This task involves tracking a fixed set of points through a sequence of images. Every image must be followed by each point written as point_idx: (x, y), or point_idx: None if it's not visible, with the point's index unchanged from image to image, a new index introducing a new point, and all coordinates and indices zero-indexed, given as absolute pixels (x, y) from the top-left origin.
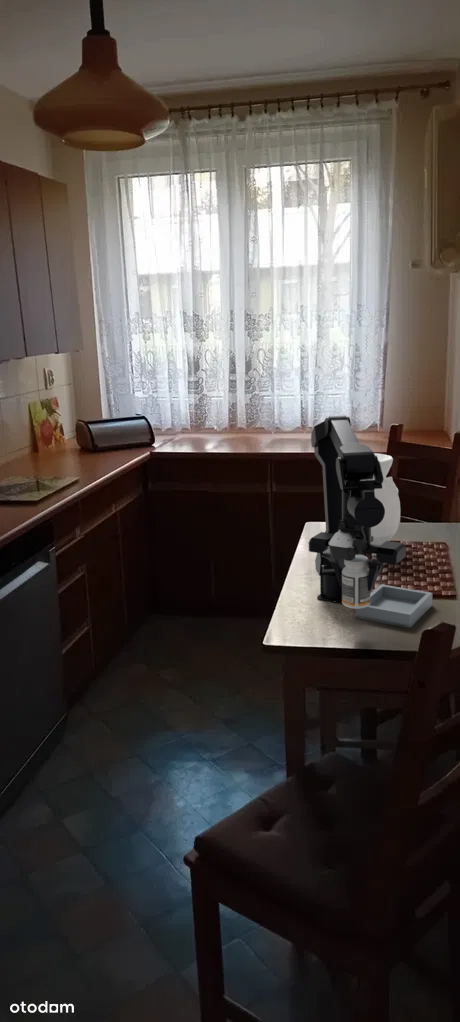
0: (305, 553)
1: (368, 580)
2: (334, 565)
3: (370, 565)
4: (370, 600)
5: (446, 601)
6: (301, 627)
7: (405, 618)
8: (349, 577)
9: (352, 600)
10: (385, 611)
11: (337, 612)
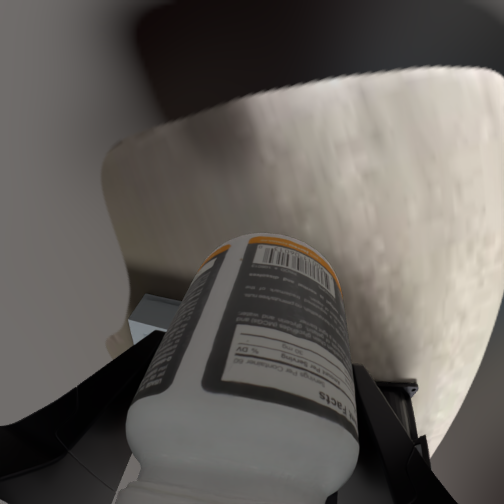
0: None
1: (128, 380)
2: (425, 488)
3: (2, 459)
4: None
5: None
6: (461, 215)
7: (146, 313)
8: (263, 395)
9: (260, 253)
10: None
11: (365, 340)
